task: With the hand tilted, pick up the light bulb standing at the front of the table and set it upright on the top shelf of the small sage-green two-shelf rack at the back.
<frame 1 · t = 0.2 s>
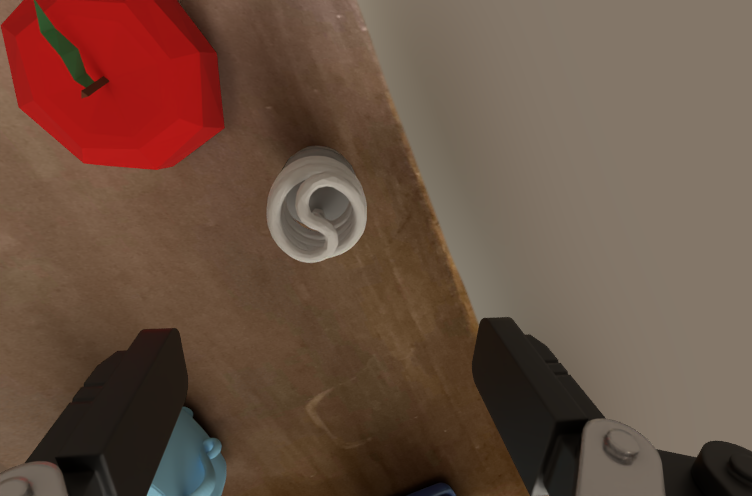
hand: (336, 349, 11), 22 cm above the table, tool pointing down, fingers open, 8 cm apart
teapot: (166, 438, 40), on the table
apple: (159, 78, 27), on the table
light bulb: (319, 172, 31), on the table
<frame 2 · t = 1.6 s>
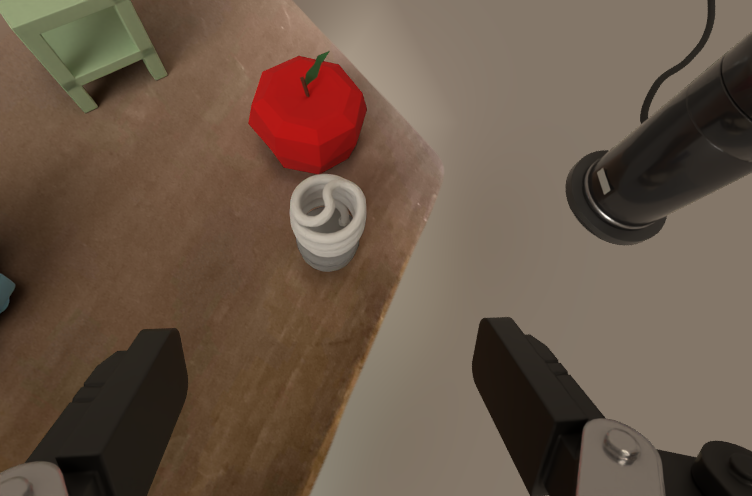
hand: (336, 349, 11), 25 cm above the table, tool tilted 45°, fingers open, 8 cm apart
shelf rack: (106, 65, 42), on the table
apple: (311, 144, 42), on the table
light bulb: (327, 254, 38), on the table
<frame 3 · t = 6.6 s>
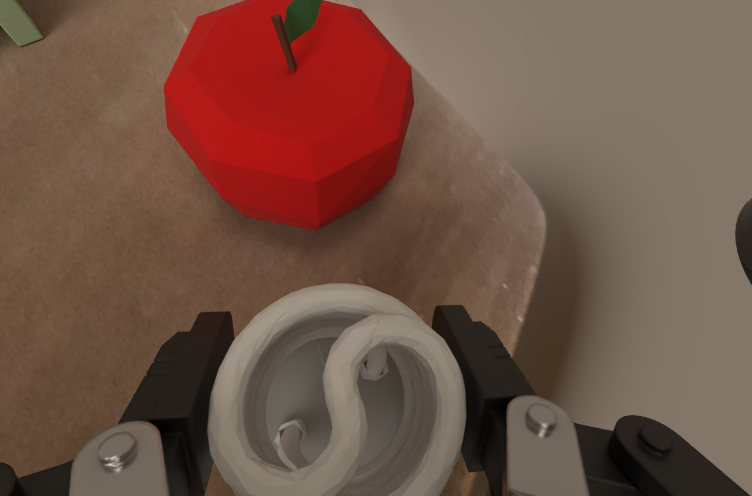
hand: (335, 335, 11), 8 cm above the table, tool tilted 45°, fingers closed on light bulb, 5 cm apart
apple: (302, 168, 22), on the table
light bulb: (330, 399, 18), on the table, touching gripper
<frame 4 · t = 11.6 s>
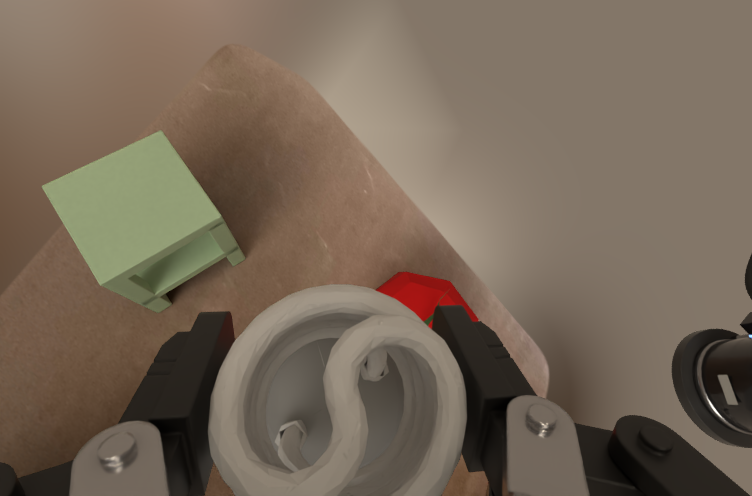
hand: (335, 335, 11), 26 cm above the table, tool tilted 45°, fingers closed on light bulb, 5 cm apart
shelf rack: (179, 248, 38), on the table
apple: (403, 341, 38), on the table
light bulb: (330, 399, 18), point 18 cm above the table, touching gripper
when the fingers open (18 cm above the table, at t = 16.7 s): light bulb stays where it is, resting on shelf rack.
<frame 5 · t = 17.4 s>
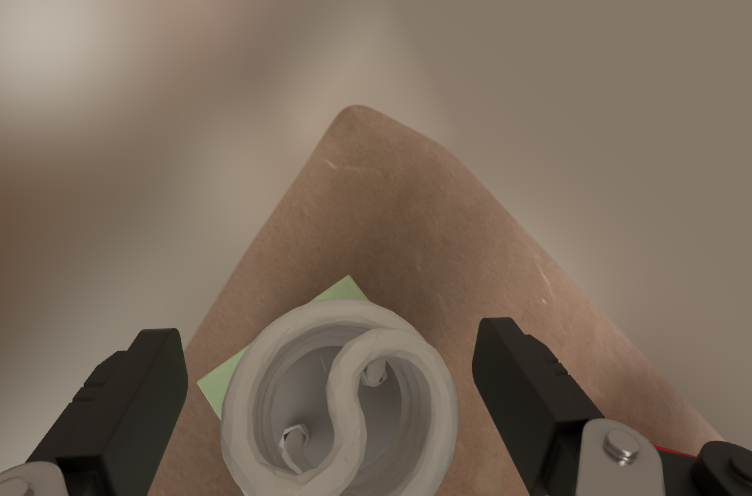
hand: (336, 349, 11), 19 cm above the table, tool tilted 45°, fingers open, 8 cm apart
shelf rack: (327, 397, 28), on the table
light bulb: (331, 403, 19), point 10 cm above the table, touching shelf rack
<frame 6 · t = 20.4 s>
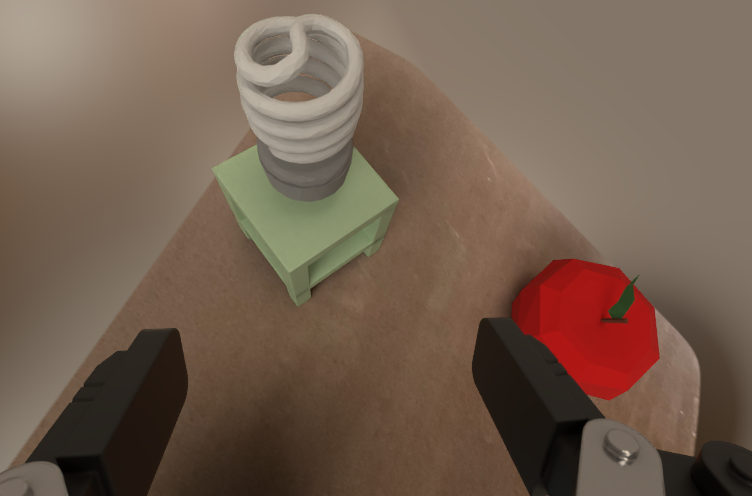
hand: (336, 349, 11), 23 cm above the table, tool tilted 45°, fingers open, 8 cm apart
shelf rack: (310, 238, 36), on the table
apple: (548, 334, 36), on the table
light bulb: (308, 188, 27), point 10 cm above the table, touching shelf rack
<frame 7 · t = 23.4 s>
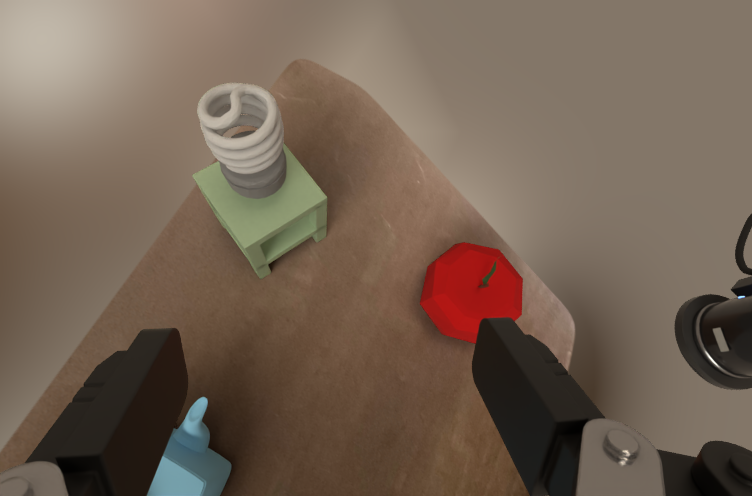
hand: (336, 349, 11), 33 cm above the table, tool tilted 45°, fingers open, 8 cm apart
teapot: (165, 485, 36), on the table
shelf rack: (272, 228, 46), on the table
apple: (456, 302, 46), on the table
light bulb: (261, 189, 37), point 10 cm above the table, touching shelf rack
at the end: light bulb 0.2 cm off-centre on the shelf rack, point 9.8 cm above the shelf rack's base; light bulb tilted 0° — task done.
